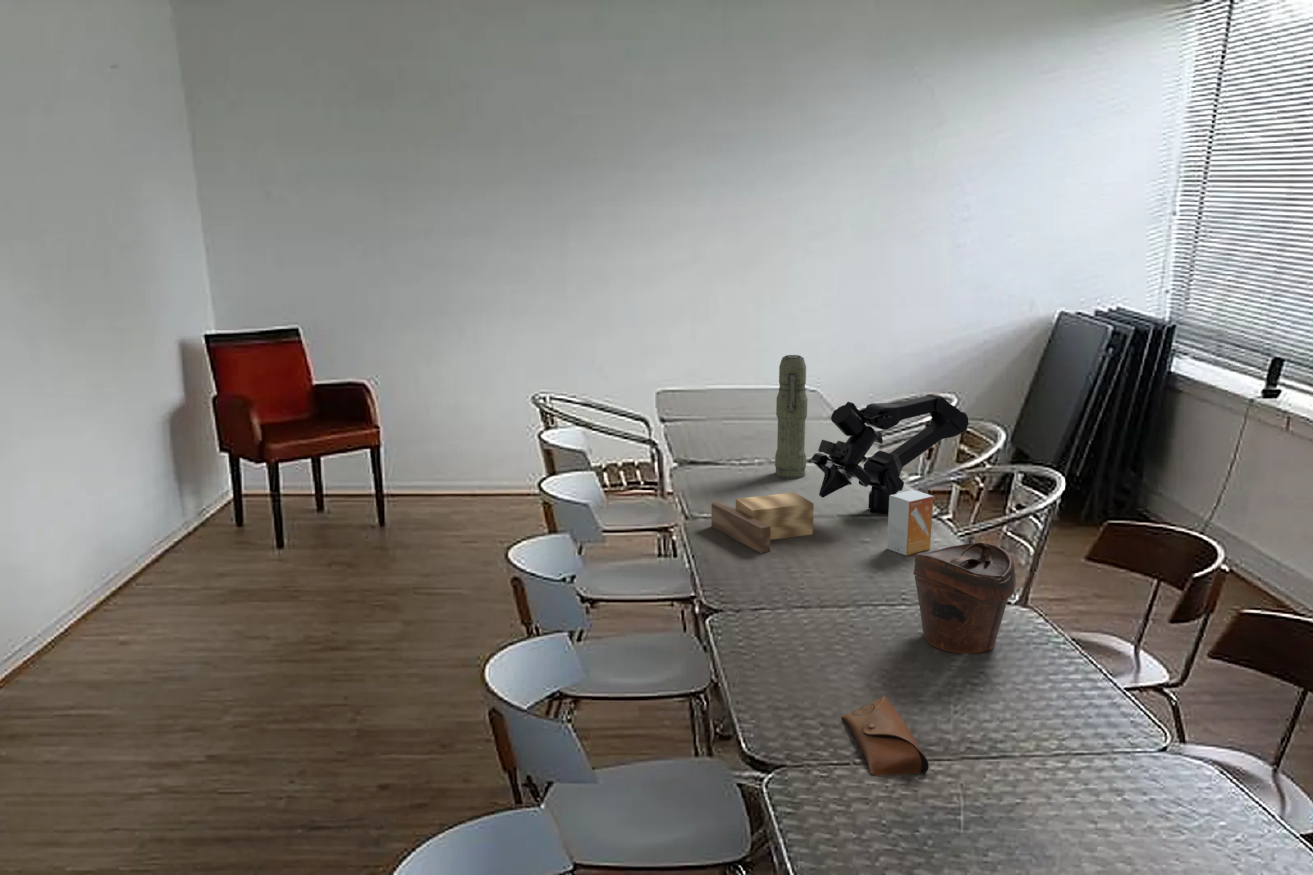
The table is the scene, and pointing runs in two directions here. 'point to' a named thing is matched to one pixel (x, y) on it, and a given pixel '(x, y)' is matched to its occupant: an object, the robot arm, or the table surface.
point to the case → (963, 595)
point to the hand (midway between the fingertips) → (820, 496)
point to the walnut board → (741, 527)
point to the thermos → (791, 418)
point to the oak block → (780, 513)
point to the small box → (909, 522)
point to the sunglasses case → (885, 739)
